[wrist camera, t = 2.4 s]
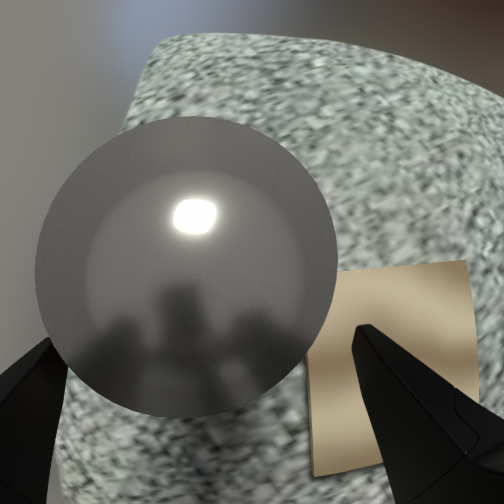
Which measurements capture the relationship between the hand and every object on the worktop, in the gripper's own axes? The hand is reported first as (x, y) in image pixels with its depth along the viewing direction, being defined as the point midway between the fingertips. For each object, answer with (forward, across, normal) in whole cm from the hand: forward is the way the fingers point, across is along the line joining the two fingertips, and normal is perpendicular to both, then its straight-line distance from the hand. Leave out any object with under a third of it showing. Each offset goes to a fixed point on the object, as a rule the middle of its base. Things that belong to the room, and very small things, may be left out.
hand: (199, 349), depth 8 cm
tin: (+8, 0, +5) cm, 9 cm away
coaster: (+5, -11, +8) cm, 14 cm away
